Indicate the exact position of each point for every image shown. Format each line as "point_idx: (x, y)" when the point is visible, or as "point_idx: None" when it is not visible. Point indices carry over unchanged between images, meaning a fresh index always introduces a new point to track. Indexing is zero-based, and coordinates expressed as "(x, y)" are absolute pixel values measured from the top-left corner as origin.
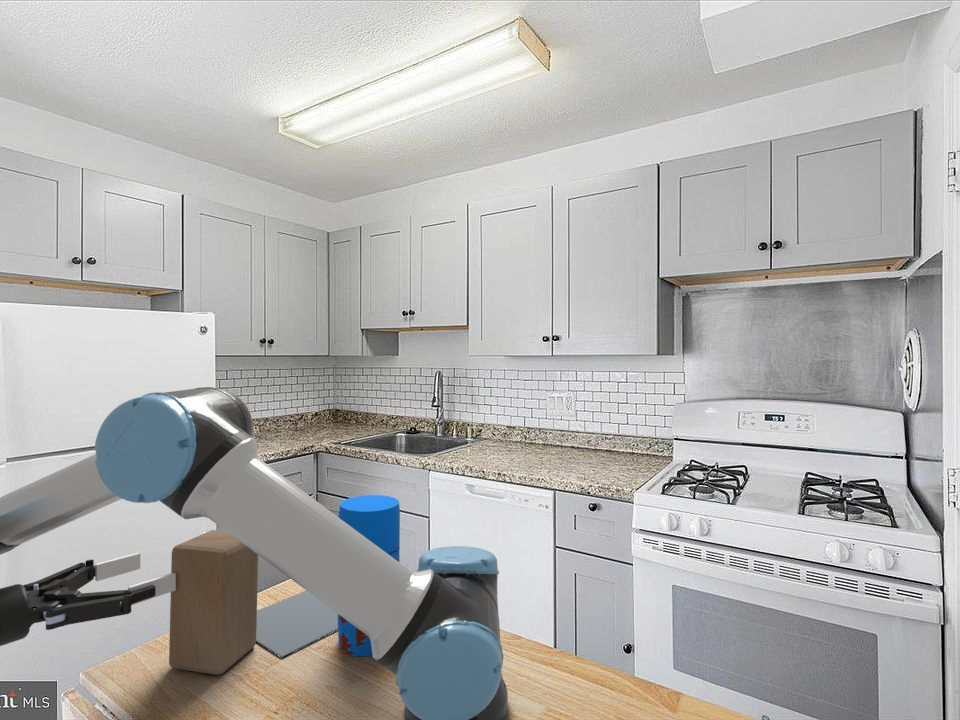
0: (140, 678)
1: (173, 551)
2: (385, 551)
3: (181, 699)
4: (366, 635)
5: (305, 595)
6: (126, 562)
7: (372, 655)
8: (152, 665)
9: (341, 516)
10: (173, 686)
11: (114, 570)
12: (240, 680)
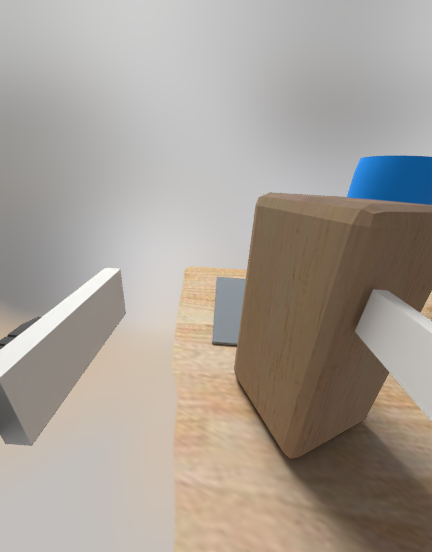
0: (280, 531)
1: (380, 224)
2: None
3: (415, 508)
4: None
5: (225, 288)
6: (102, 307)
7: None
8: (243, 477)
9: (417, 169)
10: (354, 491)
11: (79, 353)
12: (379, 407)
